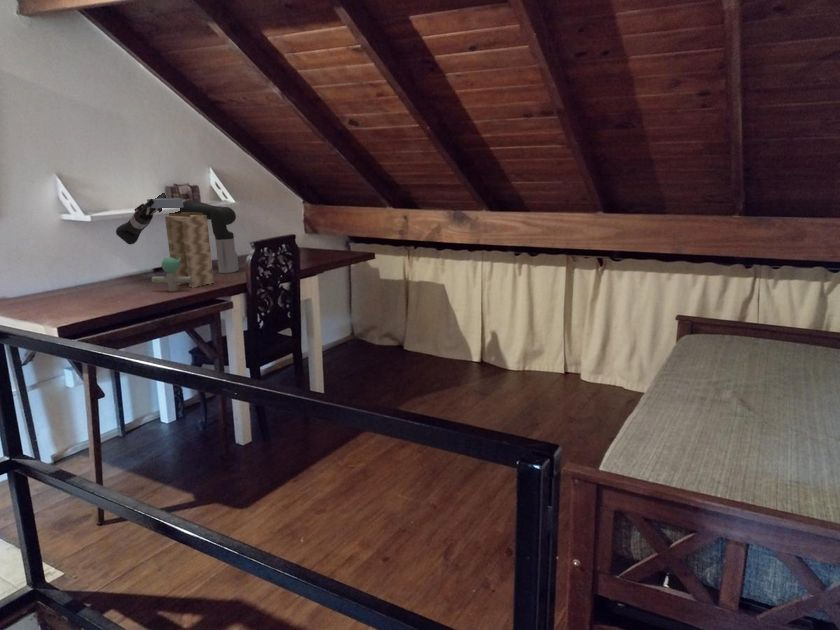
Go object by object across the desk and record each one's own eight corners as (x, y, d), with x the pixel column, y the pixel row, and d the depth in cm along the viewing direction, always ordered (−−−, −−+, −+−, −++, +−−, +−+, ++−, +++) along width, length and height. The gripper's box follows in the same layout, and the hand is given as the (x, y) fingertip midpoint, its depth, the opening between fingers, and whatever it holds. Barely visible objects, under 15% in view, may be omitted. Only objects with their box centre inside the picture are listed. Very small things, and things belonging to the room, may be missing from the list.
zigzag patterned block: (195, 281, 302) (187, 211, 294) (214, 283, 294) (206, 212, 286) (173, 285, 292) (164, 213, 284) (192, 288, 284) (183, 214, 276)
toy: (196, 289, 282) (192, 256, 278) (189, 292, 275) (185, 258, 272) (157, 289, 284) (153, 256, 280) (149, 292, 277) (145, 259, 274)
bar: (155, 207, 298) (154, 198, 297) (183, 207, 286) (182, 198, 285) (148, 207, 294) (146, 199, 293) (176, 208, 283) (174, 199, 282)
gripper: (157, 223, 308) (173, 205, 298) (131, 226, 297) (146, 208, 286) (151, 210, 309) (166, 192, 298) (124, 212, 297) (139, 194, 287)
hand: (156, 200), depth 292 cm, fingers closed on bar, 4 cm apart
